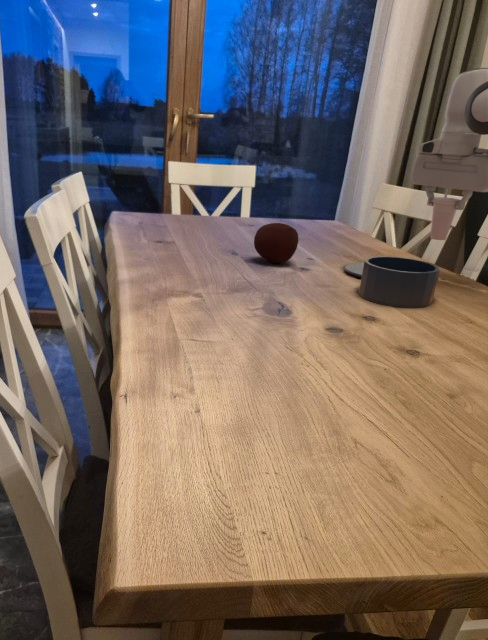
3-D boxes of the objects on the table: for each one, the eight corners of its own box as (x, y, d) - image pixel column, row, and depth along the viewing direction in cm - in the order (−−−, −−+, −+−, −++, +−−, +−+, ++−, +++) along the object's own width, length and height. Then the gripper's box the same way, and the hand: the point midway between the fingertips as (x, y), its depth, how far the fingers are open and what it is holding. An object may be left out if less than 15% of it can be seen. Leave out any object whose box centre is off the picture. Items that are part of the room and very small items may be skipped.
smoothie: (419, 236, 148) (431, 178, 142) (439, 236, 150) (452, 179, 144) (435, 241, 142) (449, 181, 136) (457, 240, 144) (471, 181, 138)
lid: (424, 279, 146) (428, 260, 144) (382, 286, 137) (386, 266, 135) (372, 264, 158) (375, 247, 156) (330, 270, 149) (333, 252, 147)
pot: (446, 302, 127) (454, 268, 124) (401, 311, 119) (409, 276, 116) (388, 285, 139) (394, 253, 135) (344, 292, 130) (349, 259, 127)
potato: (272, 255, 163) (276, 217, 159) (305, 265, 153) (310, 225, 149) (242, 258, 157) (245, 219, 153) (274, 269, 148) (279, 228, 143)
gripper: (507, 149, 131) (491, 212, 137) (429, 144, 146) (417, 202, 152) (492, 149, 128) (476, 214, 134) (413, 144, 142) (402, 203, 148)
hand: (444, 207), depth 143 cm, fingers closed on smoothie, 6 cm apart
